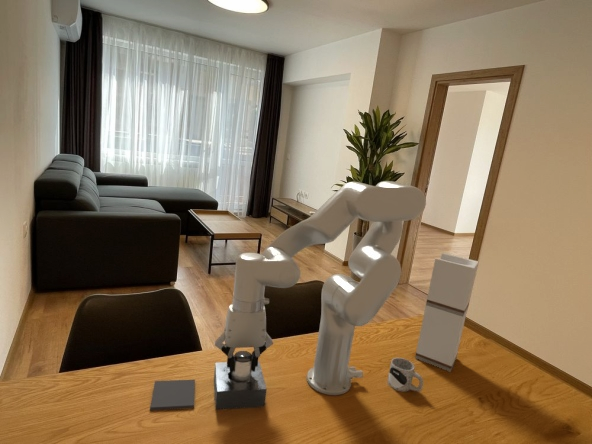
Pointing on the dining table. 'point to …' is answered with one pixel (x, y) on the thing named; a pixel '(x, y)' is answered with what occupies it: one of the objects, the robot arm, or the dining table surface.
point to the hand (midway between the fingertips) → (242, 368)
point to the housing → (238, 389)
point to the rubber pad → (173, 395)
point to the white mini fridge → (446, 310)
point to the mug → (403, 375)
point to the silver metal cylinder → (242, 367)
